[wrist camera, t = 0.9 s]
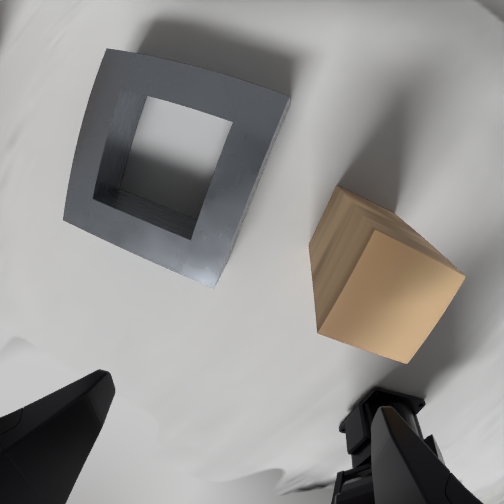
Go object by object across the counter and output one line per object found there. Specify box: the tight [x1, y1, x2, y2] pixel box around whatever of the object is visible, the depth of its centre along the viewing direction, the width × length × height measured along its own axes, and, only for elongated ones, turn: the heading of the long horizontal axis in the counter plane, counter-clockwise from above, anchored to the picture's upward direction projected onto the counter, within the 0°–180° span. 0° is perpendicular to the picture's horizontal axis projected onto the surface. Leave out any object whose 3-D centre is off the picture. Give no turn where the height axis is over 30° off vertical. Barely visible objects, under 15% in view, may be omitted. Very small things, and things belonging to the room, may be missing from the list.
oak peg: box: [309, 185, 465, 364], centre depth 15 cm, size 4×4×10 cm
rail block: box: [63, 49, 290, 288], centre depth 18 cm, size 11×12×4 cm
